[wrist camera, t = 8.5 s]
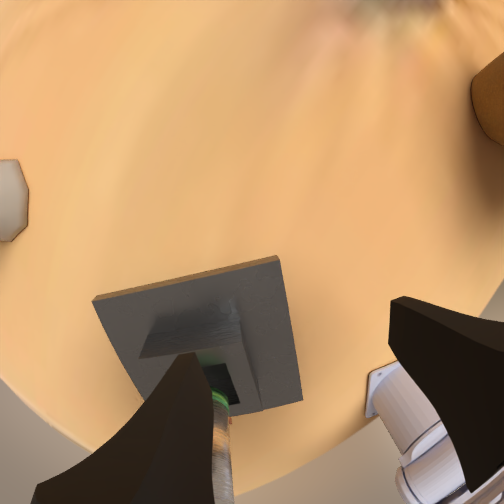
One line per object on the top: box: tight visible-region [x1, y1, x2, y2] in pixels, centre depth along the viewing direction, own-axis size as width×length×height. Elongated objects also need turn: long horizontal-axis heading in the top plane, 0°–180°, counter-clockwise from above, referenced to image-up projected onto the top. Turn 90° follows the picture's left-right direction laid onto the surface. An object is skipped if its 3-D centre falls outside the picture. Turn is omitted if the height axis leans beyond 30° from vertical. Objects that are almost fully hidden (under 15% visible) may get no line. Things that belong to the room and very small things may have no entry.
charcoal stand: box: [92, 255, 303, 424], centre depth 19 cm, size 14×14×4 cm
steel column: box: [210, 386, 234, 504], centre depth 12 cm, size 3×3×8 cm
